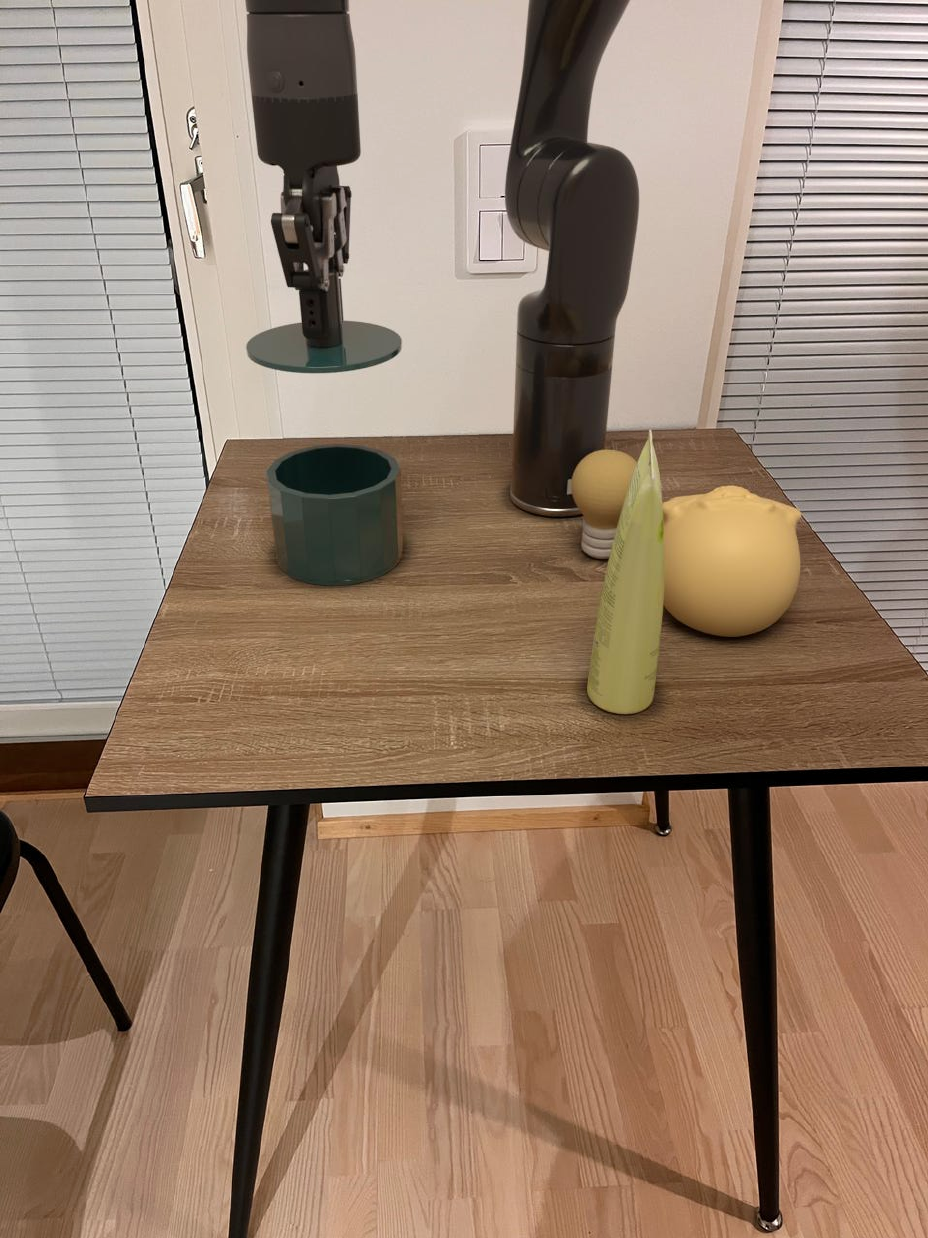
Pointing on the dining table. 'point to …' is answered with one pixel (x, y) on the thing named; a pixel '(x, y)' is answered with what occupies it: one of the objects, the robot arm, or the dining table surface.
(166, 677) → the dining table surface
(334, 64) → the robot arm
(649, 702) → the tube
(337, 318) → the pot lid
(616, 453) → the light bulb
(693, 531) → the sculpture
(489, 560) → the dining table surface
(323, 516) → the pot
